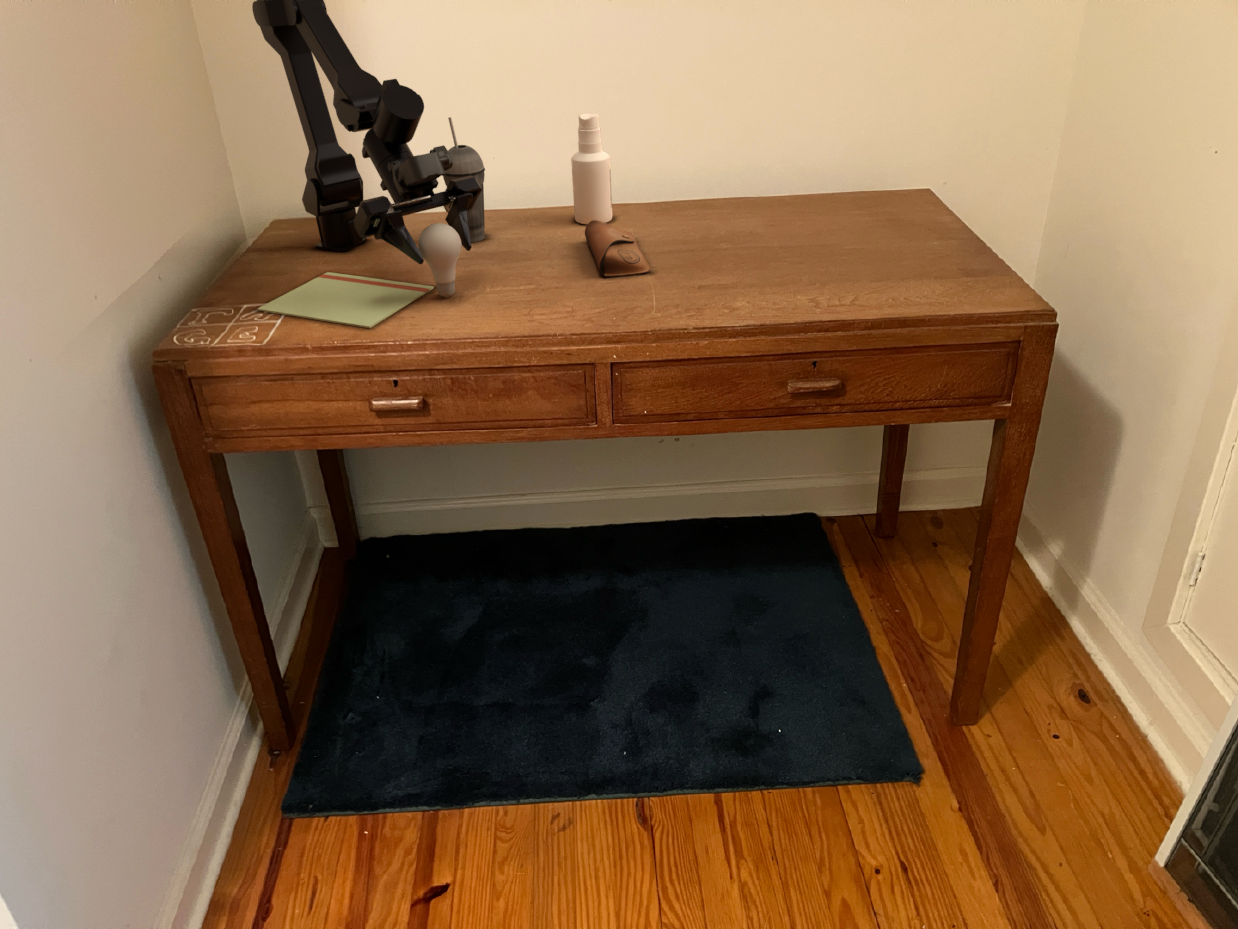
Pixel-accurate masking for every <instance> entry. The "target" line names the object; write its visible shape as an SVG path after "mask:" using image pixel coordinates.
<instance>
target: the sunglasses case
mask: <svg viewBox="0 0 1238 929" xmlns="http://www.w3.org/2000/svg"><path fill="white" fill-rule="evenodd" d="M584 237H585V240H586V242H587V244H588V246H589V249H590V251H591V253H592V255H593V258H594V261H595V264H596V267H597V268H598V271H600V272H601V274H603V276H604V277H609V278H610V277H628V276H634V275H641V274H646V273H648V272H650V271H651V267H650V265H649V263H648V261H647V259H646V257H645V255H644V253H643V252H642V251H641V250H642V249H641V248H640V246H639V244H638V243H637V241H636V237H635V235H634V234H633V233H632V232H629V231H625V230H621V229H619V228H618V227H616V226H614V225H611V224H609V223H608V222H606V223H604V222H601V221H597V220H593V221H590V222H589V224H588V225H587V224H586V227H585V229H584Z"/></svg>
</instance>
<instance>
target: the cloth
mask: <svg viewBox="0 0 1238 929" xmlns="http://www.w3.org/2000/svg"><path fill="white" fill-rule="evenodd" d="M434 287H435V286H434V285H427V284H419V283H412V282H404V281H398V280H397V281H396V280H389V279H382V278H375V277H368V276H361V275H352V274H345V273H337V272H331V271H327V272H325V273H323V274H321V275H319V276H317V277H315V278H313V279H311V280H310V281H308V282H306V283H304V284H301V285H300V286H298V287H296V288H294V289H292V290H290V291H288V292H286V293H285V294H283V295H281V296H278V297H276V298H275V299H273V300H271V301H269V302H267V303H265V304H263V305H261V306H260V307H257V311H258V312H264V313H272V314H277V315H283V316H284V315H285V316H291V317H296V318H297V317H298V318H303V319H308V320H315V321H322V322H327V323H334V324H339V325H346V326H351V327H352V326H353V327H359V328H366V329H371V328H373V327H374V326H376V325H378V324H379V323H381V322H382V321H384V320H386V319H387V318H389V317H391V316H392V315H394V314H396V312H398V311H401V309H403V308H405V307H407V306H408V305H409V304H411V303H413V302H414V301H416V300H417V299H419V298H420V297H422V296H424V295H425V294H427V293H429V292H430V291H432V290H434Z"/></svg>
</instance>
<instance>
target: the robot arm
mask: <svg viewBox="0 0 1238 929" xmlns="http://www.w3.org/2000/svg"><path fill="white" fill-rule="evenodd" d="M251 9H252V15H253V18H254V20H255V23H256V24H257V26H258V27H259V28H260V30H261V34H262V36H263V39H264V41H265V42H266V43H267V44H268V45H269V46H270V47H271V48H272V50H274V51H275V52H276V53H277V54H278V55H279V57H280V59H281V63H282V66H283V69H284V73H285V75H286V76H285V77H286V78H287V82H288V85H289V89H290V92H291V95H292V98H293V102H294V105H295V109H296V111H297V116H298V118H299V122H300V125H301V128H302V132H303V135H304V138H305V141H306V145H307V148H308V155H307V158H306V163H305V166H304V173H305V178H306V182H305V186H304V190H303V194H302V197H301V202H302V204H303V207H304V211H305V212H306V213H307V214H310V215H312V216H314V217H315V220H316V224H317V228H318V234H319V239H320V242H318V243H316V244H315V245H314V247H315V249H321V250H327V251H328V250H329V251H336V252H347V251H350V250H351V249H353V248H355V247H358V246H359V245H361V244H364V243H365V242H367V241H368V238H369V237H373V238H374V239H375V240H376V241H377V240H382V241H384V242H385V243H387V244H389V245H390V246H392V247H394V248H396V249H397V250H399V251H400V252H401V253H403V254H405V255H406V256H407V257H409V258H410V259H411V260H413V262H415V263H417V264H418V265H423V263H424V262H425V260H424V258H423V257H422V255H421V252H420V250H419V247H418V244H416V242H415V240H414V238H413V237H412V234H411V233H410V232H409V230H408V228H407V226H406V223H405V220H404V216H409V215H412V214H416V213H421V212H425V211H429V210H433V209H437V208H441V207H443V208H444V210H445V212H446V213H447V215H446V217H445V219H444V220H445V222H446V224H447V225H449V226H451V227H452V228H454V229H455V230H456V232H457V233H458V234H459V236H460V239H461V244H462V247H463V248H464V249H465V250H466V251H467V252H468V251H471V249H472V242H471V239H470V233H469V227H468V220H467V211H469V210H470V209H472V207H473V206H474V204H475V202H476V200H477V198H478V196H479V194H480V192H481V190H482V188H481V186H480V184H479V183H478V181H477V179H476V178H475V177H472V176H466V177H462V178H458V179H453V180H450V182H449V184H448V186H446V188H445V190H444V191H440V192H436V193H435V192H434V189H437V188H438V186H439V181H438V179H439V178H440V177H443V176H444V175H446V173H445V171H447V170H448V169H450V168H451V167H452V166H453V161H452V158H451V156H450V153H449V152H448V150H449V149H447V147H446V146H445V145H439V146H435V147H433V148H432V149H430V150H429V152H428V153H425V154H423V153H422V154H418V155H414V154H413V152H412V150H411V148H410V147H409V145H408V143H410V142H411V141H412V140H413V138H414V137H415V134H416V131H417V128H418V126H419V124H420V122H421V119H422V116H423V113H424V110H425V102H424V100H423V98H422V96H421V95H420V94H418V93H417V92H416V91H415V90H413V89H412V88H410V87H408V86H405V85H402V84H400V82H399V81H398V79H397V78H391V79H386V80H383V81H382V83H381V82H380V81H379V79H378V78H377V77H376V76H375V75H373V74H371V73H369V72H368V71H366V70H364V69H362V68H361V66H360V65H359V63H358V62H357V60H356V58H355V57H354V55H353V54H352V52H351V51H350V49H349V47H348V45H347V44H346V42H345V41H344V38H343V37H342V35H341V33H340V32H339V31H338V28H337V27H336V26H335V23H334V22H333V20H332V19H331V17H330V15H329V13H328V10H327V6H326V3H325V0H253V2H252V7H251ZM314 58H315V59H314ZM315 60H316V62H317V63H318V65H319V67H320V69H321V70H322V72H323V73H324V75H325V77H326V79H327V81H328V82H329V84H330V85H331V88H332V90H333V99H332V105H333V107H334V110H335V113H336V117H337V120H338V121H339V123H340V124H341V125H342V126H343V127H344V129H345V130H346V131H347V132H349V133H350V132H352V133H358V132H363V131H367V132H366V133H365V135H364V137H363V139H362V149H361V155H362V158H363V159H370V161H371V162H372V164H373V166H374V168H375V169H376V172H377V174H378V176H379V177H380V179H381V182H380V184H379V186H380V188H381V190H382V191H387V192H388V194H389V196H390V198H391V199H392V201H393V203H391V202H390V199H389V197H388V196H385V195H380V196H376V197H372V198H371V197H370V198H367V199H364V181H363V178H362V175H361V174H360V172H359V170H358V168H357V167H358V166H357V163H356V158H355V157H354V155H353V154H352V153H351V152H350V153H347V152H346V151H345V150H344V149H343V147H341V146H340V145H339V141H338V138H337V135H336V131H335V127H334V124H333V121H332V117H331V114H330V110H329V108H328V104H327V100H326V96H325V93H324V90H323V86H322V83H321V80H320V79H321V78H320V76H319V73H318V69H317V65H316V63H315ZM356 208H357V209H356Z"/></svg>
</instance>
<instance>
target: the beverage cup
mask: <svg viewBox="0 0 1238 929" xmlns="http://www.w3.org/2000/svg"><path fill="white" fill-rule="evenodd" d="M448 123H449V127H450V131H451V135H452V139H453V144H454V146H452V147H450V148H449V149H447V150H448V152H449V153H450V156H451V158H452V161H453V166H452V167H451V168H450V169H448V170H447V171H445V173H446V175H444V176H442V178H443V181H444V185H445V186H446V187H447V186H448V184H449V182H450V180H453V179H458V178H462V177H466V176H472V177H475V178H476V179H477V181H478V183H479V184H480V186H481V188H482V190H481V192H480V194H479V196H478V198H477V200H476V202H475V204H474V206H473V207H472V209H470V210H469V211H467V220H468V227H469V233H470V239H471V243H476V242H480V241H483V240H484V239H485V238H486V237H485V228H486V226H485V225H486V224H485V223H486V222H485V221H486V220H485V194H484V192H485V191H484V188H485V187H484V182H485V176H486V175H485V171H486V169H485V165H484V162H483V160H482V157H481V155H480V154H479V153H478V152H477V150H476V149H475V148H473V147H471V146H469V145H466V144H458V141H457V137H456V132H455V128H454V124H453V120H452V117H451V116H449V117H448Z"/></svg>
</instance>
